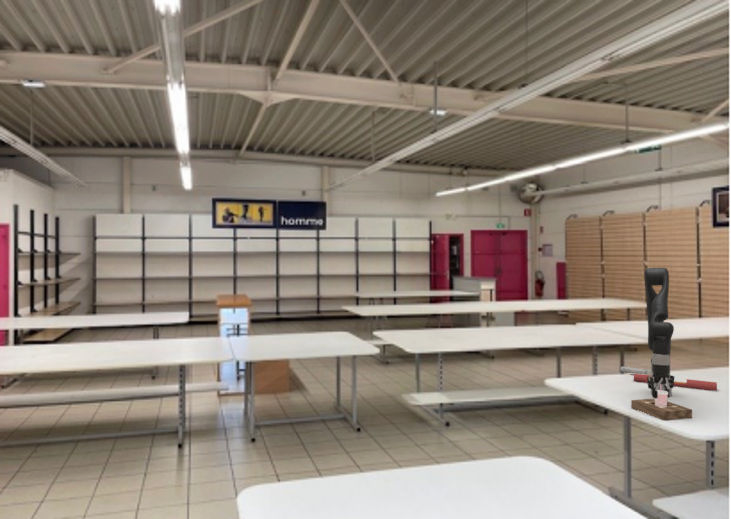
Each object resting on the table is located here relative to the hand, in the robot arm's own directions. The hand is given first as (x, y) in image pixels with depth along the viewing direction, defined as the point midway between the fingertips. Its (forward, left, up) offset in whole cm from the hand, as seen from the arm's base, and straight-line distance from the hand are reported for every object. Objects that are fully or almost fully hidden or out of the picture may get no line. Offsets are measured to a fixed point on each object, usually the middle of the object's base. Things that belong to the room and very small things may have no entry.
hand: (660, 397), depth 246 cm
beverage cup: (0, 0, -6) cm, 6 cm away
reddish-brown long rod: (-52, -44, -8) cm, 68 cm away
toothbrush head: (-51, -71, -8) cm, 88 cm away
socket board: (0, 0, -8) cm, 8 cm away
